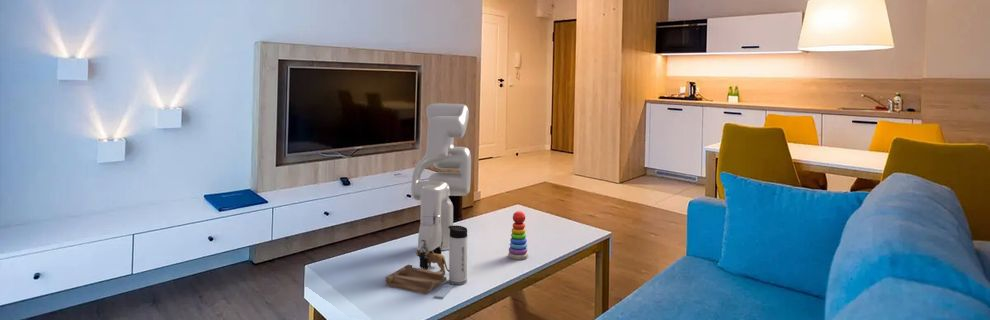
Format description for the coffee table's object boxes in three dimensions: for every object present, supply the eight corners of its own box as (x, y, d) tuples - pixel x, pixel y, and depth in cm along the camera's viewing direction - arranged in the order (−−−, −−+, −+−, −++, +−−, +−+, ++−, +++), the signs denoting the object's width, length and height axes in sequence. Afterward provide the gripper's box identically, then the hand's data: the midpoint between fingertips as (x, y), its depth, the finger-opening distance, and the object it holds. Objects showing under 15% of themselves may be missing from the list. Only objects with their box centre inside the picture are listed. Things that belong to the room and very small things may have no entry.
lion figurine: (413, 269, 198) (413, 246, 197) (420, 264, 203) (420, 242, 202) (448, 276, 193) (448, 252, 191) (455, 271, 197) (455, 247, 196)
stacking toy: (531, 258, 213) (533, 212, 210) (515, 261, 209) (517, 215, 206) (520, 252, 220) (521, 208, 217) (504, 255, 215) (505, 210, 212)
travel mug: (449, 277, 191) (449, 223, 188) (467, 278, 191) (468, 224, 187) (447, 284, 185) (447, 228, 181) (466, 285, 184) (466, 229, 181)
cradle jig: (408, 272, 195) (408, 264, 195) (446, 279, 189) (446, 271, 188) (385, 285, 183) (385, 277, 182) (426, 294, 176) (426, 285, 176)
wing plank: (444, 287, 183) (444, 284, 183) (452, 288, 183) (452, 285, 182) (434, 299, 174) (434, 295, 174) (443, 300, 173) (443, 296, 173)
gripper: (433, 212, 205) (433, 255, 207) (409, 223, 189) (409, 269, 192) (451, 214, 202) (450, 258, 204) (427, 226, 186) (427, 273, 189)
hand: (430, 263), depth 198 cm, fingers open, 9 cm apart
